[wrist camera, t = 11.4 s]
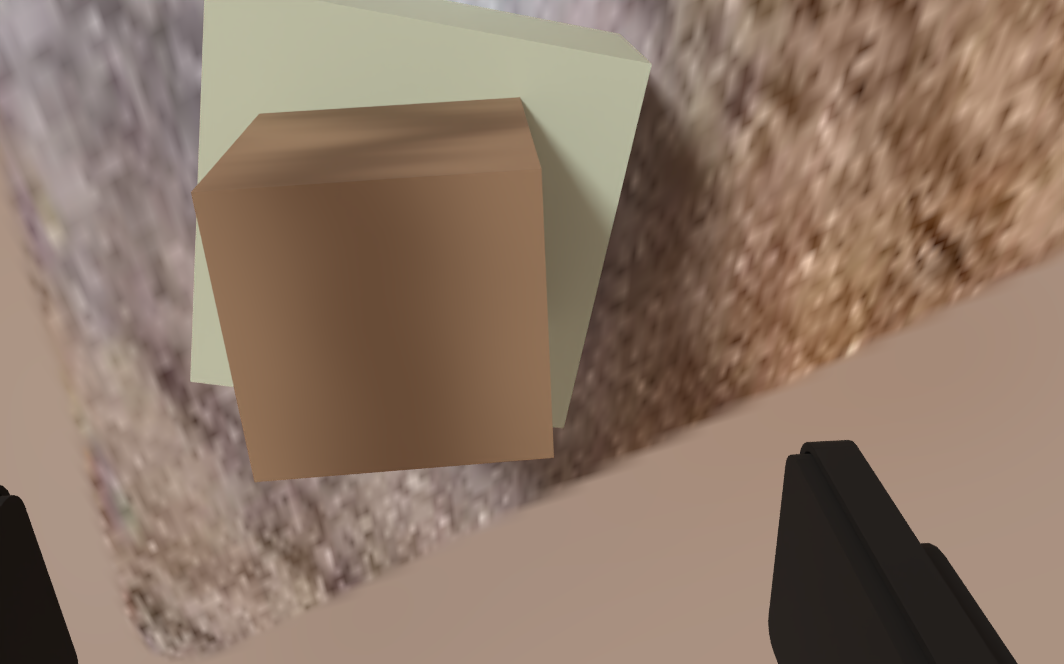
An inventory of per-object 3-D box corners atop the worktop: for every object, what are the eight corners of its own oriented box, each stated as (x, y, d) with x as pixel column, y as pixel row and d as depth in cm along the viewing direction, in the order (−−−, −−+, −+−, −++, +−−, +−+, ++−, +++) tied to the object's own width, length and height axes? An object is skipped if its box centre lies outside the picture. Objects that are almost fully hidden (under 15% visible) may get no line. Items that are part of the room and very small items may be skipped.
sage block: (617, 32, 26) (651, 63, 21) (547, 346, 30) (563, 428, 25) (251, -39, 24) (205, -21, 20) (232, 302, 28) (190, 381, 24)
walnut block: (519, 97, 21) (541, 168, 16) (532, 328, 24) (553, 457, 18) (259, 113, 21) (191, 192, 16) (300, 346, 24) (254, 481, 18)
